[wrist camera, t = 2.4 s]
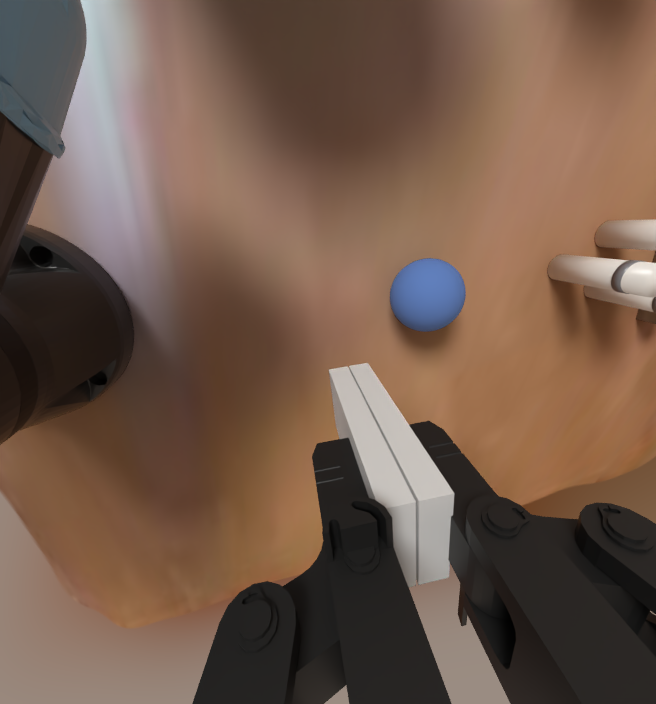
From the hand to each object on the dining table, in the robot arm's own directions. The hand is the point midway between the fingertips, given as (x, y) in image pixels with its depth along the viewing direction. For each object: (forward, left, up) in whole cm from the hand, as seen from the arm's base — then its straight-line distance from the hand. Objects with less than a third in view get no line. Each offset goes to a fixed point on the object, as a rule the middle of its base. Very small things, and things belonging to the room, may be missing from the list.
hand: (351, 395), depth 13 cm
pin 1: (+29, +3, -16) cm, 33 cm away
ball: (+9, 0, -13) cm, 16 cm away
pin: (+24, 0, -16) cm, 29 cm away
